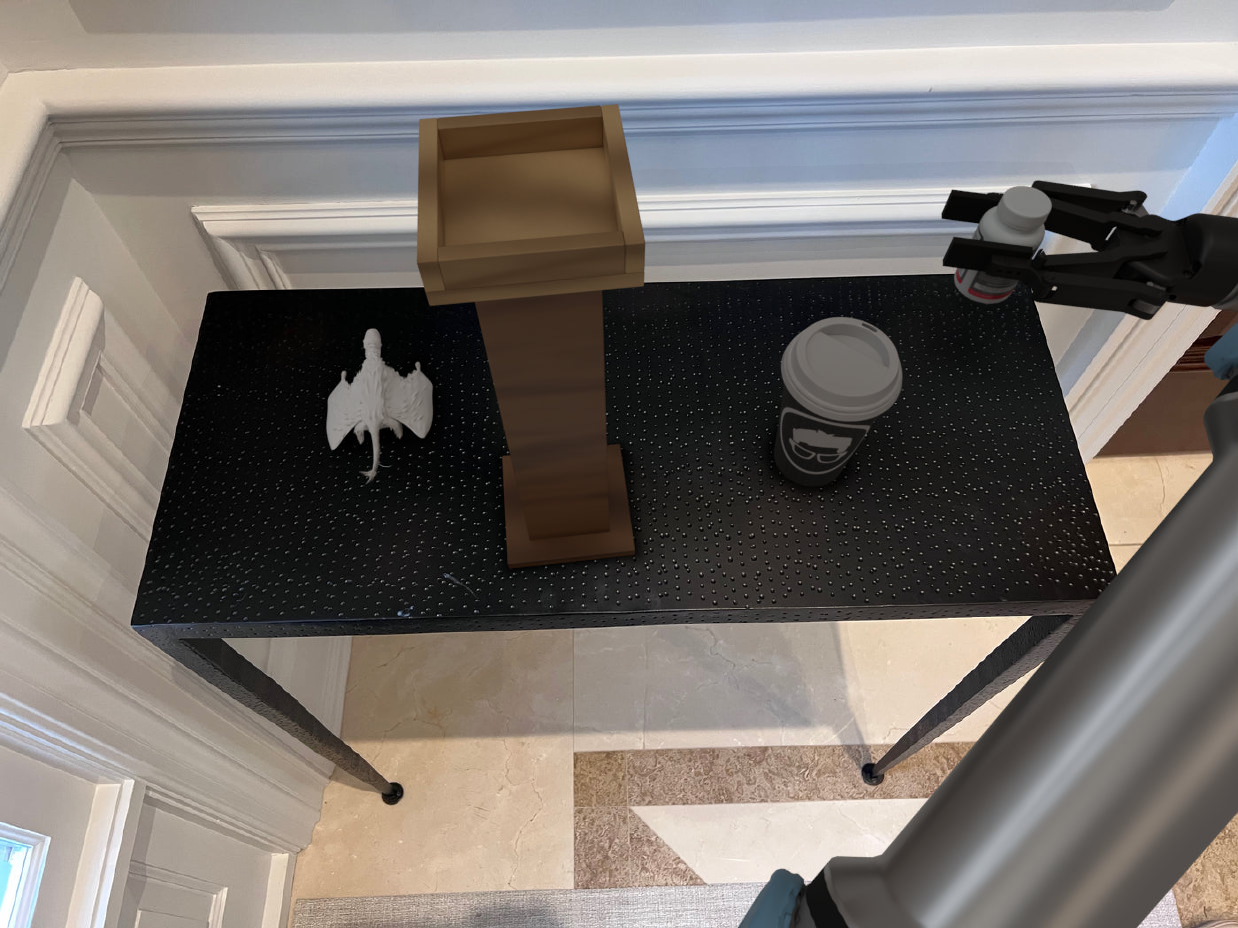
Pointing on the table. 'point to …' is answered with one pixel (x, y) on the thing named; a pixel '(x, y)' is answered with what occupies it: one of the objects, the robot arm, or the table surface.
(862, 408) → the coffee cup
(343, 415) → the winged dragon toy
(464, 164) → the wooden tray stand
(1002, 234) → the pill bottle
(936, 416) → the table surface
